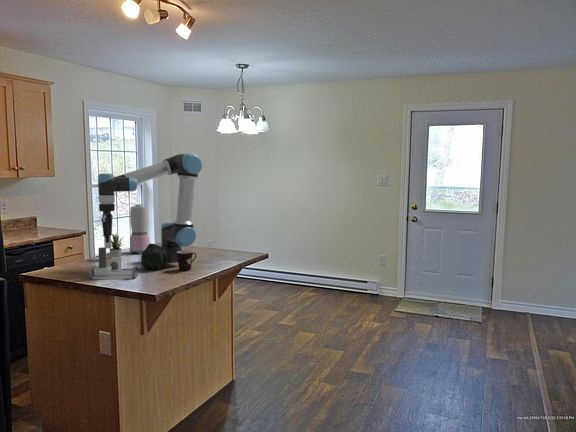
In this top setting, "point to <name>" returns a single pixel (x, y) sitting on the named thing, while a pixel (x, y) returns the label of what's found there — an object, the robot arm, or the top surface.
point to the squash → (154, 257)
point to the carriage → (102, 263)
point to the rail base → (115, 274)
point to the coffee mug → (185, 260)
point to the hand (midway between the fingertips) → (108, 248)
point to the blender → (139, 228)
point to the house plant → (115, 247)
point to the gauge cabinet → (114, 263)
